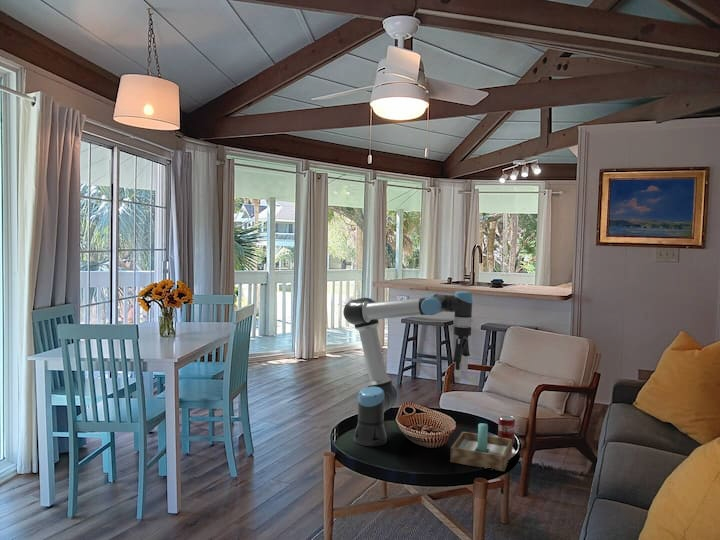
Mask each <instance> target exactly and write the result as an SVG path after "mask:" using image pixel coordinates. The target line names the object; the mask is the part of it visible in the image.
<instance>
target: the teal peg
mask: <svg viewBox="0 0 720 540" xmlns="http://www.w3.org/2000/svg"><path fill="white" fill-rule="evenodd" d="M488 430H489V425H488V423H484V422H483V423H482V422H481V423H478V425H477V434H478V447H477V451H479V452H485V453H487V438H488V436H489V434H488V433H489V431H488Z"/></svg>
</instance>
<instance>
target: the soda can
mask: <svg viewBox="0 0 720 540" xmlns="http://www.w3.org/2000/svg"><path fill="white" fill-rule="evenodd" d="M497 426H498V427H497V437H501V438H508V439H512V446H514V445H515V437H516V435H515V434H516V431H515V430H516V429H515V428H516V419H515V418H514V417H513V416H511V415H500V416H498V425H497Z"/></svg>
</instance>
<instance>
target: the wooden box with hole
mask: <svg viewBox="0 0 720 540" xmlns="http://www.w3.org/2000/svg"><path fill="white" fill-rule="evenodd" d="M477 447H478V433H474V432H468V431H461V433H460V434H459V435H458V437H457V438H456V440H455V441H454V443H453V444H452V445H451V446H450V459H449V462H450V463H455V464H461V465H465V466H472V467H477V468H482V467H484V468H483V469H487V468H492V469H491V470H493V469H495V470H494V471H499V472H505V471H506V469H507V467H508V464H509V461H510V459H509V458H511V456H512V454H513V445H512V439H508V438H501V437H498V436H494V435H488V438H487V453H485V452H479V451H477ZM508 460H509V461H508ZM507 463H508V464H507Z"/></svg>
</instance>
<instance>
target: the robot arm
mask: <svg viewBox="0 0 720 540" xmlns="http://www.w3.org/2000/svg"><path fill="white" fill-rule="evenodd" d="M472 311H473V293H472V292H471V291H466V290H465V291H464V290H457V291H455V292H454V295H453V294H452V295H450V294H441V293H440V294H439V293H436V294H435V293H431V294H430V295H428V297H419V298H418V297H417V298H411V299H410V298H409V299H408V298H407V299H399V300H398V299H397V300H396V299H395V300H386V301H376V300H374V299H373V298H372V297H371V298H370V297H361V298H357V299H352V300H350V301H348V302H347V303H346V304H345V305H344V307H343V313H342V314H343V316H344V319H345V321H347V323H349V324H351V325H354V329H355V330H357V331H358V333H359V336H360V337H359V338H360V341H361V346H362V350H363V355H364V361H365V363H366V364H365V365H366V369H367V374H368V378H369V381H368V382H367V387H366V386H365V387H364V388H361V389H360V390H359V392H358V397H357V401H358V404H357V425H356V428H355V430H354V434H353V441H354V443H356V444H358V445H359V446H363V447H379V446H382V445H383V446H384V445H385V444H386V443H388V442H387V441H388V436H387V435H388V434H387V433H386V430H385V429H386V428H385V424H384V416H385V415H384V414H385V412H386V411H388V410H390V409H392V408H393V406H394V405H396V403H397V402H398V398H399V397H398V396H399V392H398V390H397V388H396V386H395V385H394V384H393V382H392V378H391V377H389V376H388V374H387V369H386V365H385V361H384V356H383V352H382V346H381V342H380V338H379V333H378V329H377V327H378V326H379V320H384V319H394V318H395V319H396V318H405V317H406V318H407V317H408V318H409V317H419V316H435V315H437V314H440V313H442V312H445V313H447V312H449V313H454V322H453V324H454V325H453V334H454V335H455V336H458V338H456V339H455V348H454V357H453V360H452V362H454V377H456V378H461V377H462V371H463V372H464V371H466V372H468V371H469V370H468V369H469V368H468V366H469V365H468V364H469V357H470V356H471V355H470V354H471V353H470V345H469V344H470V343H469V337H470V336H471V335H472V327H471V326H472V322H473V321H474V320H473V319H472V314H473V313H472Z"/></svg>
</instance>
